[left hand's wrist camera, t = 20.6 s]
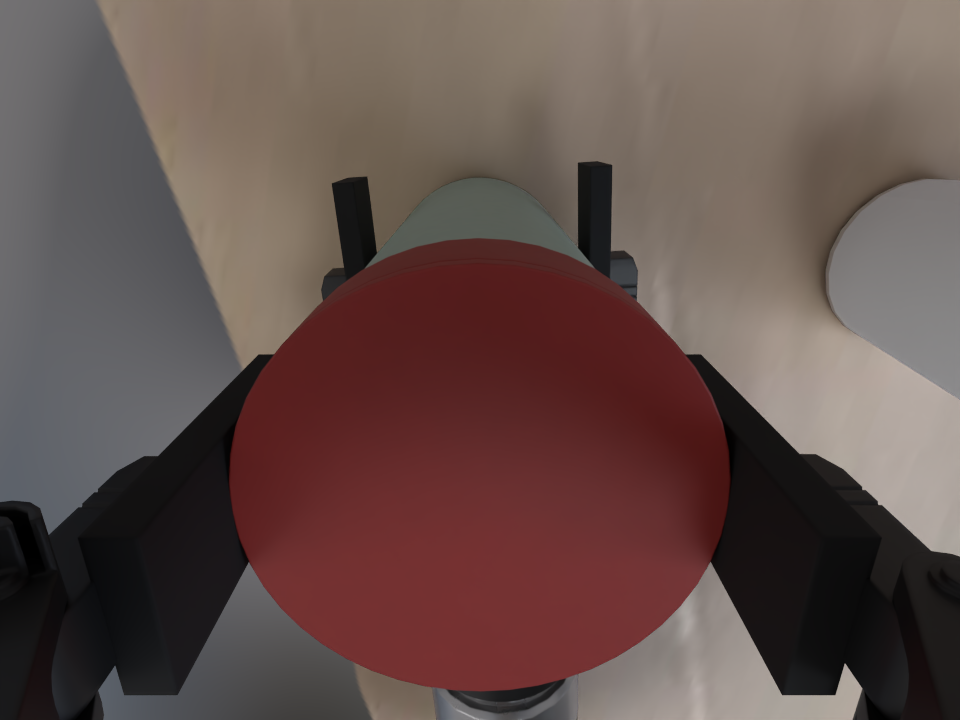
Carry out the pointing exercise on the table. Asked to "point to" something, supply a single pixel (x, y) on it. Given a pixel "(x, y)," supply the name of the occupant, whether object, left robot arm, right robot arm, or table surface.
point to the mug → (904, 277)
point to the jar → (479, 219)
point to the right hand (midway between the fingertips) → (471, 172)
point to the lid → (479, 469)
